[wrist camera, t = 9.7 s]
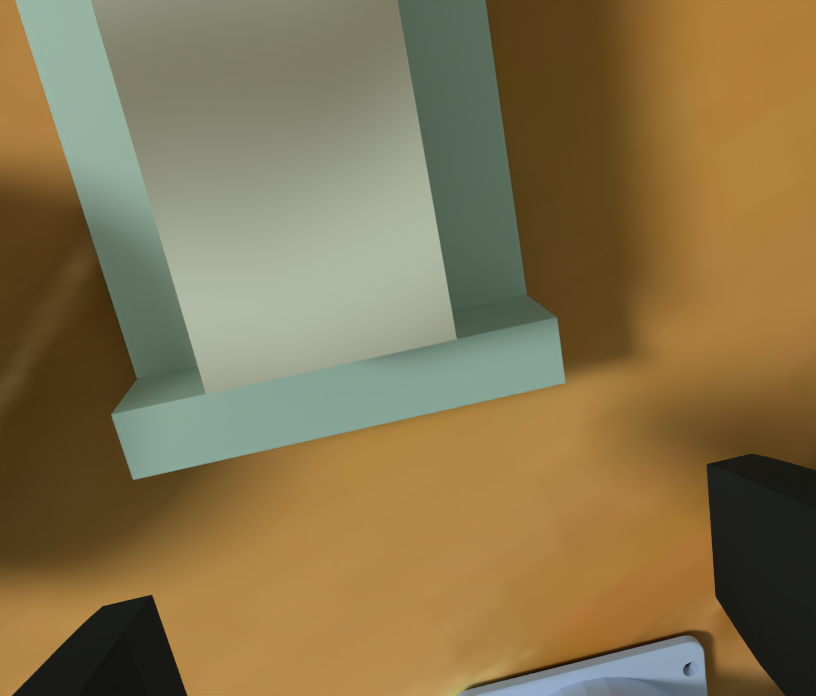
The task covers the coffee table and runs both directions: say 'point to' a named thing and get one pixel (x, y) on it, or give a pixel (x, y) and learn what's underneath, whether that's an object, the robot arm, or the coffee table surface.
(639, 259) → the coffee table surface
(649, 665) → the robot arm
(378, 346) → the shelf block
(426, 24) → the peg frame
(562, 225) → the coffee table surface
